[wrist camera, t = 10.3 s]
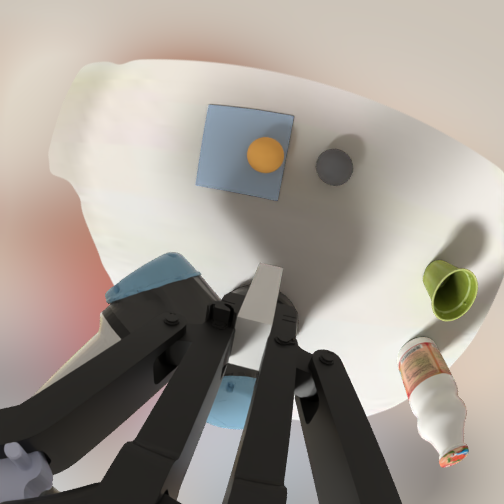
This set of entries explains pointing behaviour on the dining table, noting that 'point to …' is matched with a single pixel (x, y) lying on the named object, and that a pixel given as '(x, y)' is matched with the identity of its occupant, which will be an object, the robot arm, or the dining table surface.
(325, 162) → the ball
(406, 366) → the fruit juice
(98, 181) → the dining table surface
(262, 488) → the robot arm
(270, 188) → the mark
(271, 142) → the ball
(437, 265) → the plant pot
